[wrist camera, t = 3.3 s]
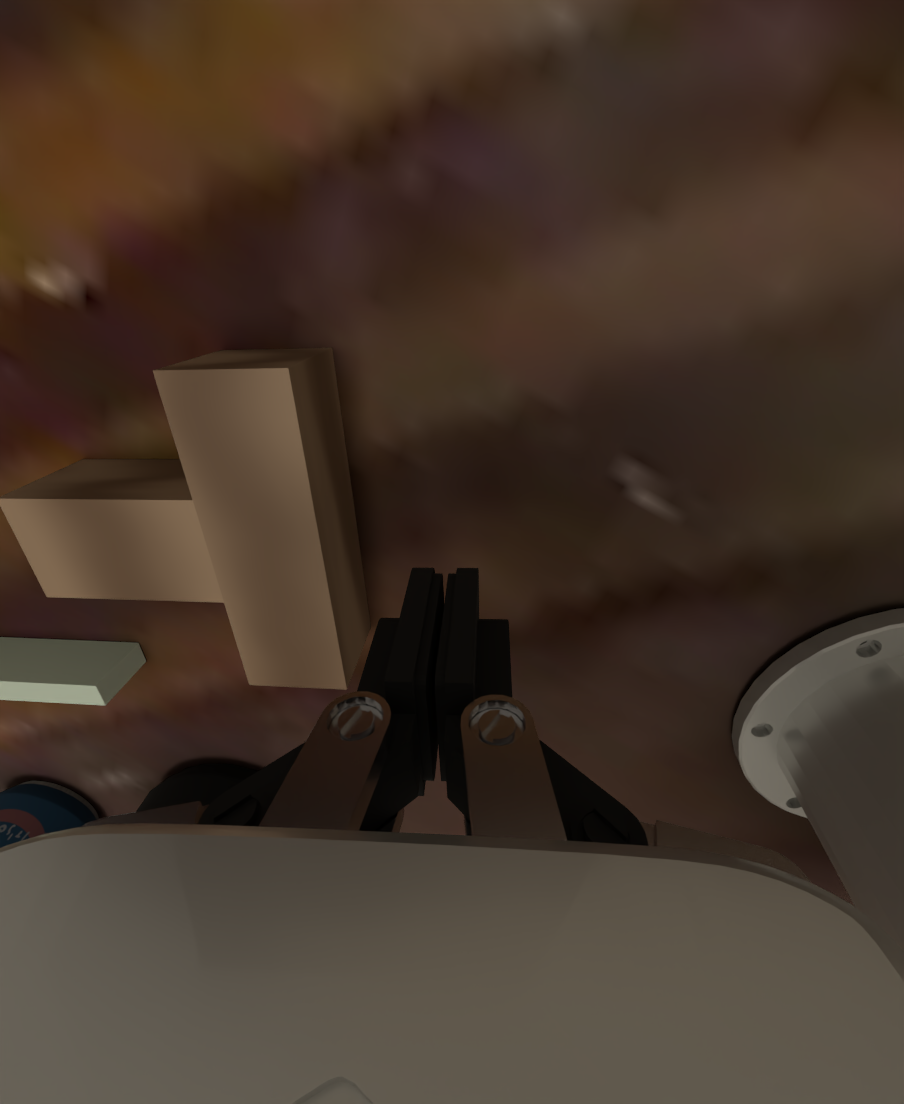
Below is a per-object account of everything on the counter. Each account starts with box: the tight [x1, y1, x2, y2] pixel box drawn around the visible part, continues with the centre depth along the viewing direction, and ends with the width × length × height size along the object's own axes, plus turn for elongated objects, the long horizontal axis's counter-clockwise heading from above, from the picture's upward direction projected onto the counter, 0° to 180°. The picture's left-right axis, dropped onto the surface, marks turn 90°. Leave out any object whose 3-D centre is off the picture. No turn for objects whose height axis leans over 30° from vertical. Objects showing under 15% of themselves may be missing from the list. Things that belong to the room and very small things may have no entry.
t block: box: [0, 348, 371, 690], centre depth 19 cm, size 11×12×4 cm
